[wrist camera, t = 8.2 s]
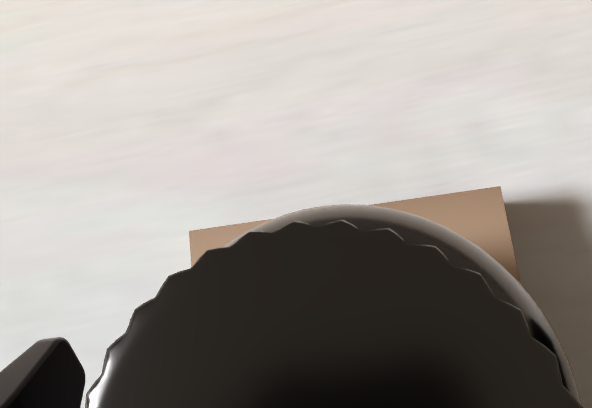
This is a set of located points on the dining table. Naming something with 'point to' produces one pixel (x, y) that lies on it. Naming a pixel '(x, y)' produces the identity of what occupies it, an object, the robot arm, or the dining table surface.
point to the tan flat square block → (440, 209)
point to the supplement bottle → (339, 324)
